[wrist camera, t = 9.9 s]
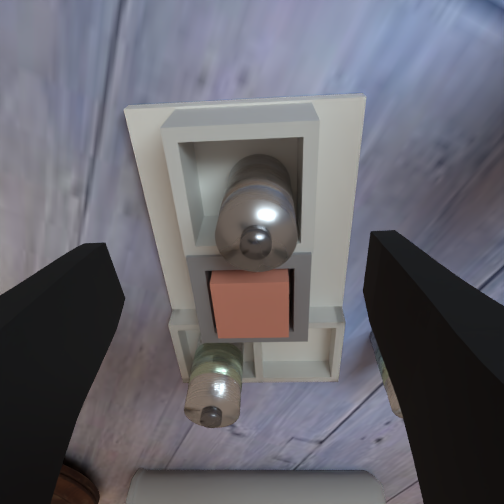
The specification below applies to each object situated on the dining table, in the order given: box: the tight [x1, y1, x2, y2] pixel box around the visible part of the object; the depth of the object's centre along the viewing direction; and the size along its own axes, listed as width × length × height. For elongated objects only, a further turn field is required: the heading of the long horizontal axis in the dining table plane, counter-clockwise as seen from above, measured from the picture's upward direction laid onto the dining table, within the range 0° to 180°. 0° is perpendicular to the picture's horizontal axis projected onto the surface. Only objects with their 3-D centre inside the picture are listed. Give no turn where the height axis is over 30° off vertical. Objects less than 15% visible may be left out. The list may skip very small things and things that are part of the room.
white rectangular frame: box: [124, 93, 366, 383], centre depth 21 cm, size 11×18×4 cm, turn 3°
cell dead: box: [215, 154, 298, 272], centre depth 16 cm, size 3×3×6 cm
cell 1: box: [184, 333, 244, 428], centre depth 23 cm, size 3×3×6 cm
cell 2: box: [370, 331, 403, 418], centre depth 23 cm, size 3×3×6 cm
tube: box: [126, 468, 386, 504], centre depth 37 cm, size 5×5×25 cm
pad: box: [210, 269, 289, 338], centre depth 20 cm, size 4×4×3 cm
